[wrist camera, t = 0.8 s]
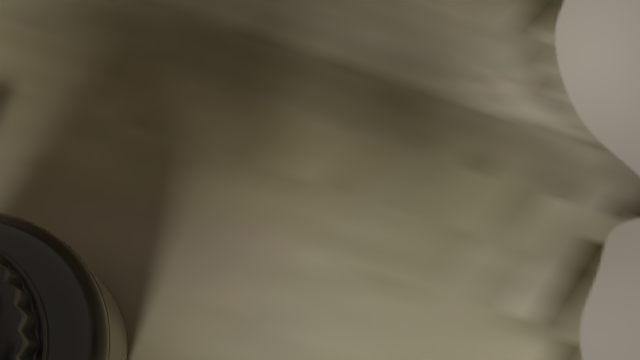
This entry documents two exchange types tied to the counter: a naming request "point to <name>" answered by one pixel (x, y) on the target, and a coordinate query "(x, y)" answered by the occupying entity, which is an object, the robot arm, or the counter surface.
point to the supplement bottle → (53, 300)
